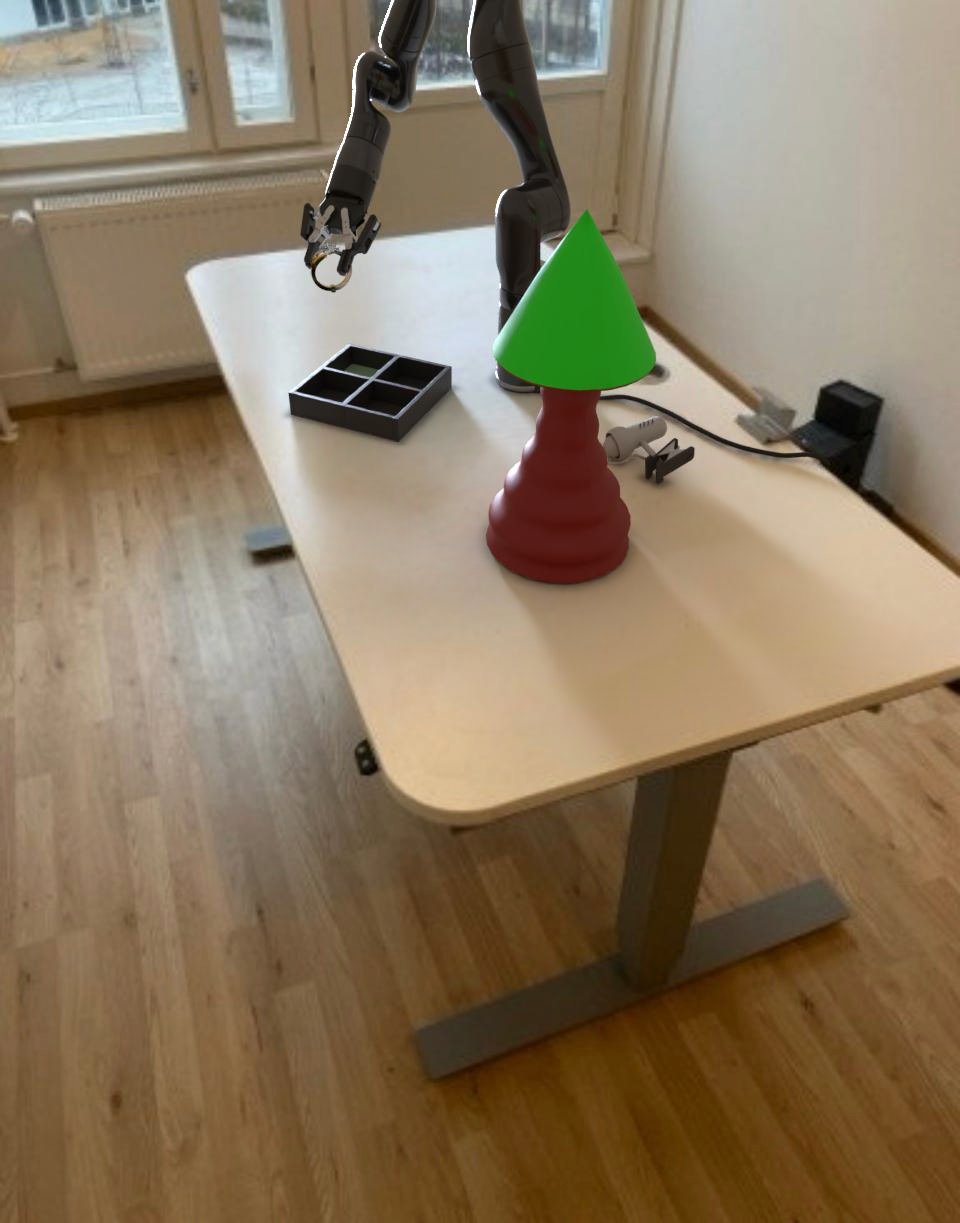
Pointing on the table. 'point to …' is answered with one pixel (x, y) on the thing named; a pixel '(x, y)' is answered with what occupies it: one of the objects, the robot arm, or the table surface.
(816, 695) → the table surface
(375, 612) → the table surface
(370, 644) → the table surface
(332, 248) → the ring
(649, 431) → the clip-on lamp
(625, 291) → the table lamp
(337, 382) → the organizer
